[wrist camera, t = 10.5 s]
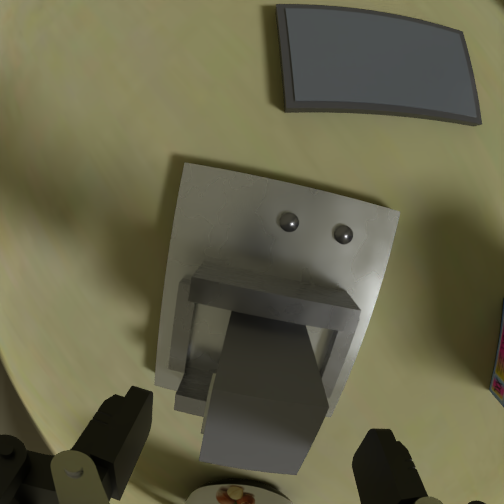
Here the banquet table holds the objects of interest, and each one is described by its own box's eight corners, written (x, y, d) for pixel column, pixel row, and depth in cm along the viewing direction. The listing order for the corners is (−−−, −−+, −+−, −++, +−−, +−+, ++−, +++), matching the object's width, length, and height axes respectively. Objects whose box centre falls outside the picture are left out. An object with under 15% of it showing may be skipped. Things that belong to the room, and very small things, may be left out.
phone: (275, 12, 15) (276, 3, 14) (455, 36, 14) (463, 31, 13) (284, 112, 16) (286, 107, 15) (473, 126, 16) (482, 124, 15)
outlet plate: (189, 164, 17) (168, 157, 13) (392, 210, 17) (425, 217, 13) (159, 375, 20) (140, 412, 16) (327, 406, 20) (338, 446, 16)
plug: (230, 302, 17) (207, 387, 10) (303, 317, 17) (329, 406, 10) (218, 362, 18) (195, 459, 10) (285, 375, 18) (296, 474, 10)
